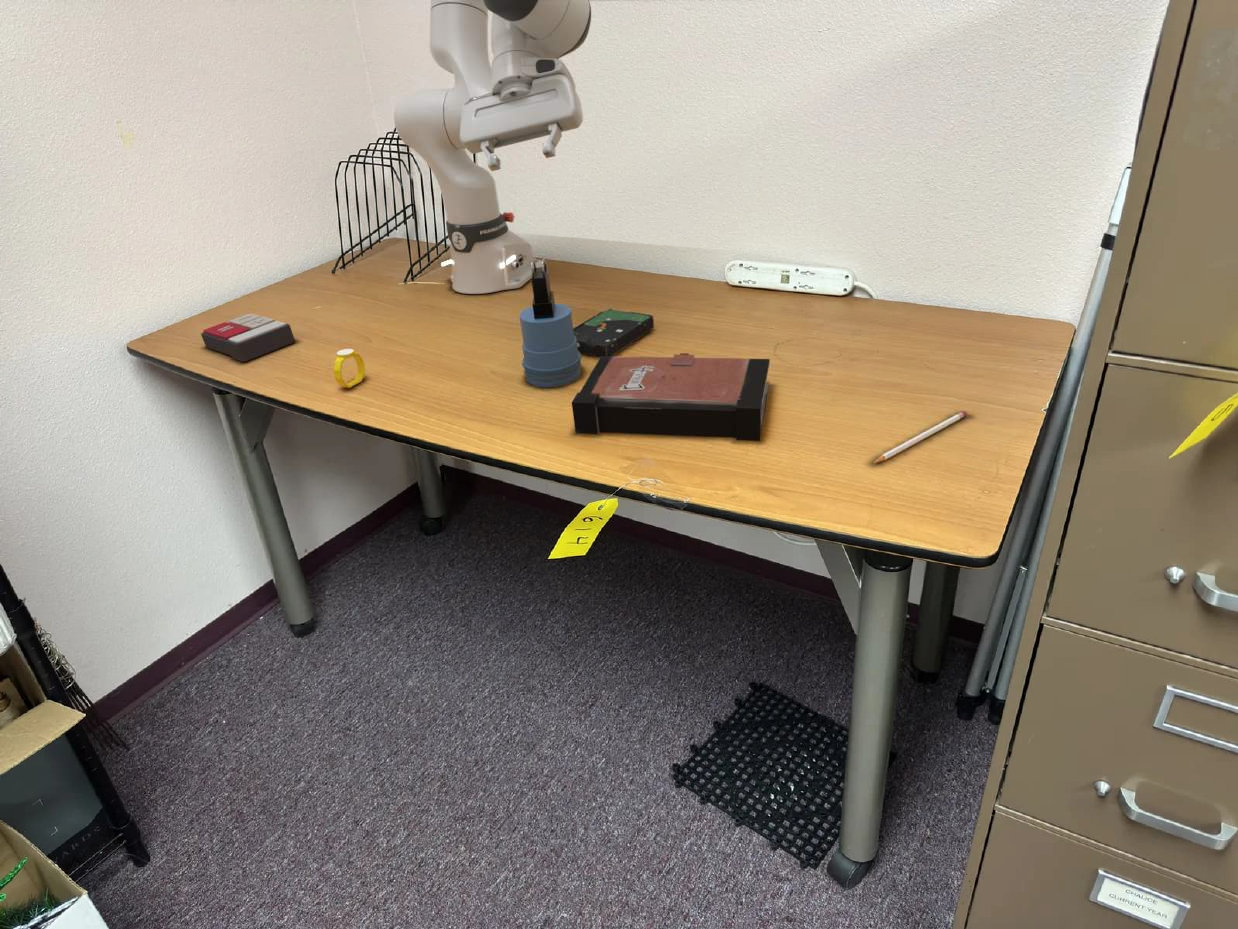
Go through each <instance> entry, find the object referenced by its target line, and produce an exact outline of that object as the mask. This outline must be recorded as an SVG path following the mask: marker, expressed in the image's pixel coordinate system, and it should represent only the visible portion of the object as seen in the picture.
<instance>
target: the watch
mask: <svg viewBox="0 0 1238 929" xmlns="http://www.w3.org/2000/svg"><path fill="white" fill-rule="evenodd" d="M336 356H337V358H336V359H335V361H334V366H333V374H334V379H335V381H336V382H337V384H338V385H339V386H341V387H343V388H348V389H351V388H352V387H355V385H358V384H359V383H361V382H362V381H363V379H364V376H365V369H366V367H365V362H364V359H363V357H362V356H361V354H360V353H358V352H356V351H355V350H354V349H353V348H344V349H340V350H338V351H337V352H336ZM352 357H353V358H354V360H355V362H356V365H357V369H356V374H355V377H354V379H353V380H351V381H349V382H347V383H346V381H345V380H344V378H343V374H342V368H343V363H344V362H345V360H346V359H349V358H352Z"/></svg>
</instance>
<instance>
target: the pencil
mask: <svg viewBox="0 0 1238 929" xmlns="http://www.w3.org/2000/svg"><path fill="white" fill-rule="evenodd" d="M967 414H968V413H967V411H964V410H962V411H961V412H959V413H957V414H955V415H953V416H952V417H950V418H947V419H946V420H944V421H942V422H940V423H939V424H937V425H935V426H933V427H931V428H929V429H927V430H926V431H924V432H921V433H920V434H918V435H916V436H914V437H913V438H910V439H909V440H907V441H905V442H903V443H902V444H899V445H897V446H896V447H894V448H892V449H890V450H888V451H886V452H885V453H883V454H881V455H880V456H879V457H878V458H877V459H876V460H875V461H874V462H873V463H874V464H876V463H881V462H885V461H886V460H888V459H890V458H892V457H894V456H896V455H898V454H899V453H901V452H903V451H905V450H907V449H908V448H910V447H912V446H914V445H916V444H918V443H920V442H921V441H923V440H925V439H926V438H928V437H930V436H932V435H934V434H936V433H938V432H940V431H941V430H943V429H945V428H947V427H948V426H950V425H953V424H954V423H956V422H958V421H959V420H962V419H963V418H965V417H967Z"/></svg>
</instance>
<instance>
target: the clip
mask: <svg viewBox="0 0 1238 929" xmlns="http://www.w3.org/2000/svg"><path fill="white" fill-rule="evenodd" d="M535 259H536V258H535V256H533V258H532V262H531V271H532V278H531V279H530V280H531V287H532V294H533V299H532V306H533V312H534V319H543V318H553V317H554V310H555V303H556V302H555V295H554V294H555V293H554V291H553V290H551V283H550V276H549V268H548V266H547V263H546V256H545V255H542V259H541V261H542V264H541V266H542V267H539V268H536V265H535ZM543 264H544V266H543ZM533 265H534V268H533ZM532 306H531V307H532Z"/></svg>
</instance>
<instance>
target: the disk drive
mask: <svg viewBox="0 0 1238 929" xmlns="http://www.w3.org/2000/svg"><path fill="white" fill-rule="evenodd" d="M652 329H654V315H653V314H646V313H642V312H641V313H640V312H634V311H623V310H617V309H616V310H614V309H613V308H608V309H605V310H603V311H600V312H598V313H597V314H596V315H593V316H592V317H590V318H589V319H587V320H584V321H583V322H582V323H580V324H579V325H577V326H575V327H573V331H574V336H575V337H576V340H577V348H578V351H579V352H580V354H581V355H582V354H583V355H587V356H591V357H596V358H600V357H601V356H615V355H616V354H618V353H619V352H620V351H622V350H623V349H625V348H626V347H628V346H630V345H631V344H632V343H633V342H635V341H637V340H638V339H640V338H641V337H643V336H644V335H646V334H647V333H649V332H650V331H651V330H652Z"/></svg>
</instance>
